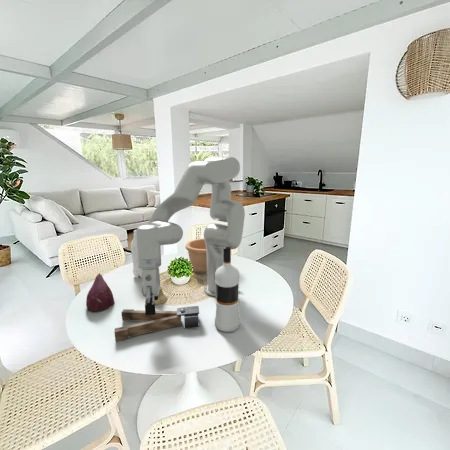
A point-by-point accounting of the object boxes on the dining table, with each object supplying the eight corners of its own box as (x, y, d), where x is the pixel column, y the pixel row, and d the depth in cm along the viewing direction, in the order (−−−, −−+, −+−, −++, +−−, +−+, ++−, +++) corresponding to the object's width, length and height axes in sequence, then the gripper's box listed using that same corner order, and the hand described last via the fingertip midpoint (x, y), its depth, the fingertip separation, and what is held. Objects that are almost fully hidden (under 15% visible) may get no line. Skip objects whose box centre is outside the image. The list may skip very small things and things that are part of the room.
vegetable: (96, 306, 111) (92, 272, 111) (119, 303, 110) (115, 269, 110) (81, 314, 100) (76, 277, 101) (106, 311, 100) (101, 274, 100)
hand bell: (143, 301, 108) (140, 267, 104) (156, 293, 115) (153, 260, 112) (158, 306, 105) (155, 270, 101) (171, 297, 112) (169, 263, 108)
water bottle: (150, 275, 134) (147, 229, 129) (139, 280, 128) (135, 232, 123) (141, 272, 138) (137, 228, 132) (130, 277, 132) (125, 231, 126)
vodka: (215, 334, 87) (214, 252, 80) (214, 318, 96) (212, 243, 89) (241, 332, 88) (242, 251, 81) (238, 316, 97) (238, 242, 90)
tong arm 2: (181, 318, 96) (181, 310, 95) (180, 321, 94) (179, 313, 93) (124, 317, 97) (123, 309, 96) (122, 320, 95) (121, 312, 94)
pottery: (229, 273, 136) (229, 248, 132) (188, 278, 131) (187, 251, 128) (220, 259, 156) (220, 237, 153) (184, 262, 151) (183, 239, 148)
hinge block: (198, 315, 98) (198, 302, 96) (199, 327, 91) (199, 313, 90) (177, 318, 97) (177, 304, 95) (177, 329, 90) (176, 315, 89)
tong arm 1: (180, 322, 93) (179, 314, 92) (181, 326, 91) (181, 317, 90) (115, 337, 85) (114, 328, 84) (115, 341, 83) (114, 332, 83)
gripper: (158, 270, 78) (161, 319, 82) (162, 252, 95) (164, 294, 99) (133, 271, 77) (137, 321, 81) (142, 253, 94) (144, 295, 97)
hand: (152, 306), depth 90 cm, fingers open, 9 cm apart
